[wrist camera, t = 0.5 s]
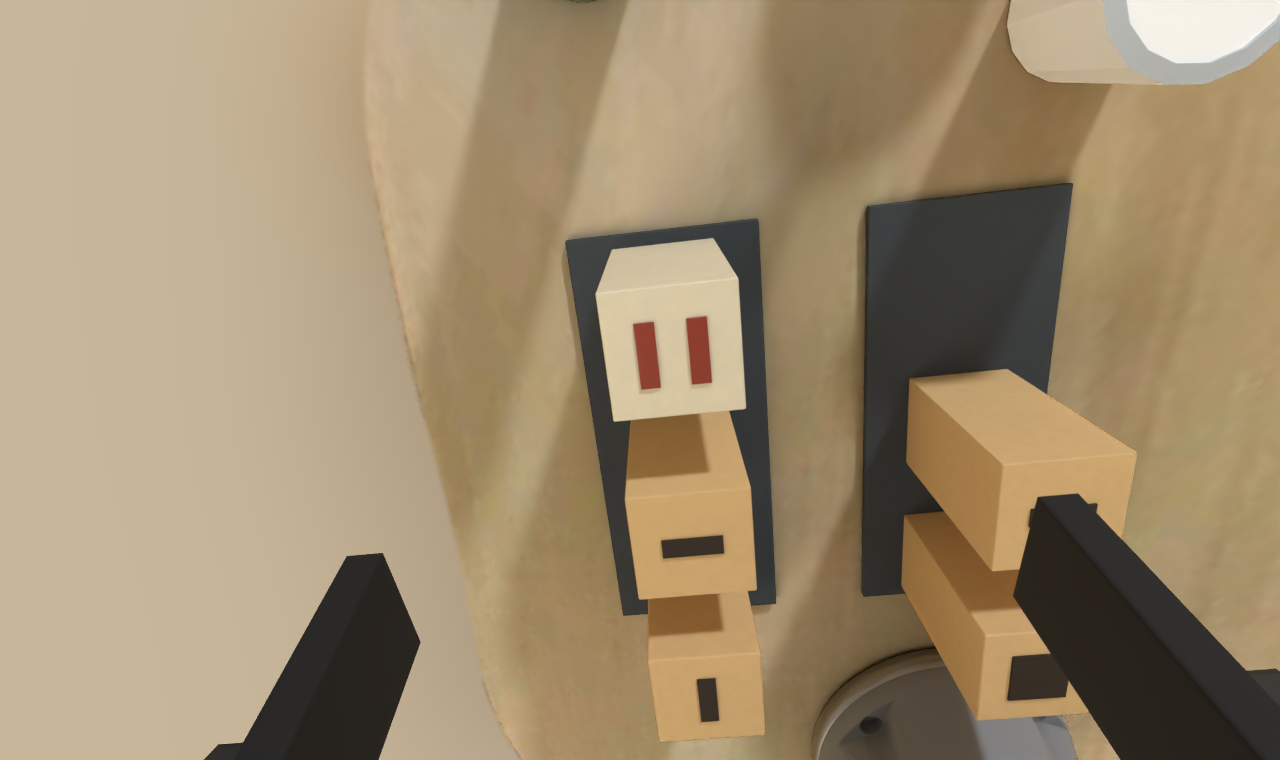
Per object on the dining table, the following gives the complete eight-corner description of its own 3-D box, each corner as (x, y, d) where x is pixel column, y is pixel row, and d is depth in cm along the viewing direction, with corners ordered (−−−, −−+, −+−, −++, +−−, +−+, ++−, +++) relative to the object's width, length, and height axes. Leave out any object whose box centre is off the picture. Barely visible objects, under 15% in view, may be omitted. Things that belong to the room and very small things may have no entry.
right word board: (1019, 579, 36) (1138, 723, 27) (861, 592, 37) (927, 737, 28) (1068, 182, 28) (1257, 202, 20) (866, 206, 29) (960, 234, 20)
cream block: (720, 336, 31) (746, 410, 22) (623, 346, 31) (613, 423, 23) (713, 237, 29) (739, 277, 21) (611, 249, 29) (594, 293, 21)
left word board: (775, 599, 37) (813, 744, 28) (623, 611, 37) (614, 757, 29) (757, 218, 29) (802, 252, 20) (566, 240, 30) (529, 282, 21)
